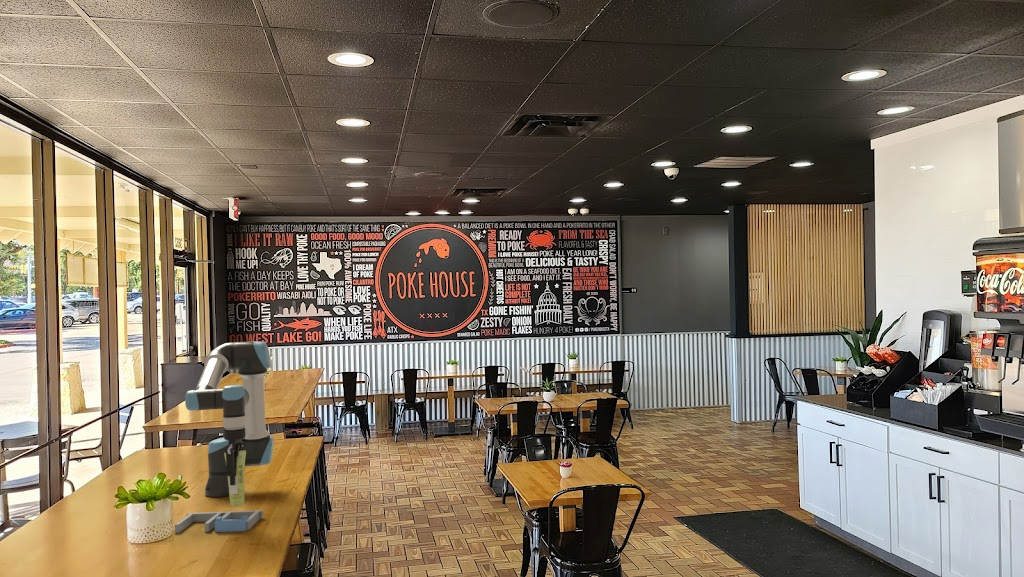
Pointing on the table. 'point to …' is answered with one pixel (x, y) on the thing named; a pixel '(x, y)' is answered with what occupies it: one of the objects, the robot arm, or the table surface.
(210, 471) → the robot arm
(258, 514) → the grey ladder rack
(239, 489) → the tube
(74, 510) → the table surface
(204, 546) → the table surface
